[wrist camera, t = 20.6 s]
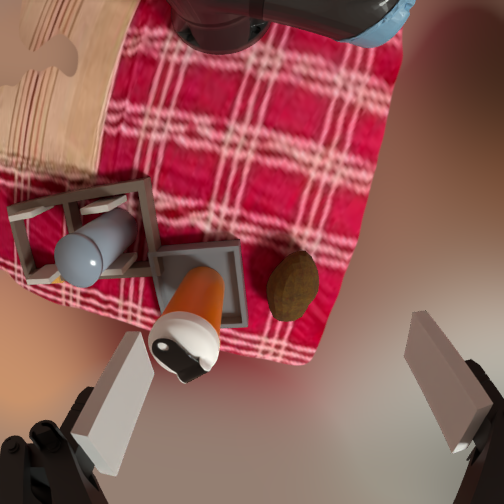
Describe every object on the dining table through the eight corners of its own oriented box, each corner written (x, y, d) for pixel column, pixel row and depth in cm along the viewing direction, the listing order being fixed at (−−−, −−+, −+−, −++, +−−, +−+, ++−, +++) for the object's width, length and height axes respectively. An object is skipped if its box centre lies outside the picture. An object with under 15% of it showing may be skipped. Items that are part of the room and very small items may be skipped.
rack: (15, 203, 50) (-7, 212, 43) (150, 177, 48) (134, 184, 41) (35, 278, 55) (16, 293, 49) (166, 271, 54) (154, 289, 47)
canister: (96, 209, 50) (48, 237, 36) (134, 204, 50) (92, 232, 36) (105, 250, 53) (63, 288, 39) (142, 247, 52) (106, 286, 38)
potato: (261, 306, 56) (261, 332, 49) (271, 239, 51) (273, 257, 44) (307, 311, 56) (313, 336, 49) (320, 245, 51) (330, 264, 44)
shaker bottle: (200, 249, 51) (169, 317, 33) (241, 285, 53) (232, 364, 35) (168, 285, 54) (128, 358, 35) (207, 317, 56) (185, 399, 37)
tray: (153, 246, 52) (147, 252, 49) (239, 239, 51) (238, 245, 49) (169, 320, 57) (165, 329, 55) (248, 317, 57) (247, 327, 54)
